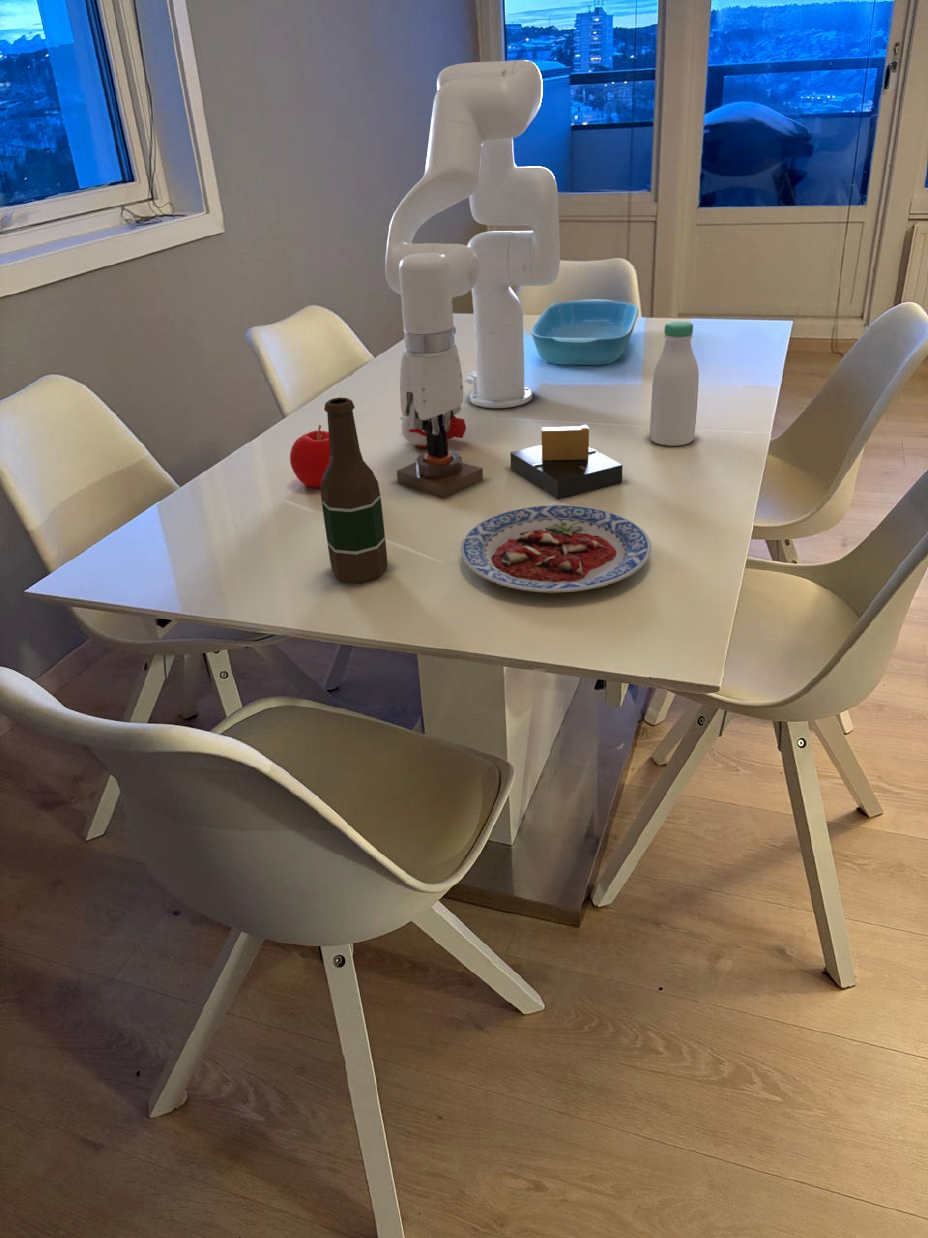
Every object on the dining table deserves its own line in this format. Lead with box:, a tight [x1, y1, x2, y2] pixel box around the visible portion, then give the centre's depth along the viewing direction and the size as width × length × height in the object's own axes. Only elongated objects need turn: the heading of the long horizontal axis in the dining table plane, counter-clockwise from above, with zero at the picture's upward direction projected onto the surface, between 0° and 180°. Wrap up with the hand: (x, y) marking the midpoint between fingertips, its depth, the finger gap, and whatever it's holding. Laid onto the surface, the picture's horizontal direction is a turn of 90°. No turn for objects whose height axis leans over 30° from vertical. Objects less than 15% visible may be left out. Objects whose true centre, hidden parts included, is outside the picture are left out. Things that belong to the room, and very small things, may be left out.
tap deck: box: [509, 444, 623, 500], centre depth 153 cm, size 15×12×3 cm
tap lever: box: [541, 424, 590, 461], centre depth 151 cm, size 8×2×5 cm, turn 86°
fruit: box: [289, 424, 330, 489], centre depth 155 cm, size 9×9×10 cm
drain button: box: [424, 450, 452, 465], centre depth 153 cm, size 4×4×2 cm
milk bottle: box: [649, 320, 700, 447], centre depth 161 cm, size 8×8×20 cm
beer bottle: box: [319, 397, 388, 584], centre depth 123 cm, size 8×8×24 cm
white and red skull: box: [400, 413, 467, 449], centre depth 168 cm, size 9×11×15 cm
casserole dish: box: [530, 298, 639, 366], centre depth 217 cm, size 37×22×7 cm, turn 166°
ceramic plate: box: [460, 504, 652, 594], centre depth 129 cm, size 26×26×3 cm
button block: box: [396, 450, 484, 499], centre depth 154 cm, size 11×9×4 cm
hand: (438, 454), depth 152 cm, fingers closed
